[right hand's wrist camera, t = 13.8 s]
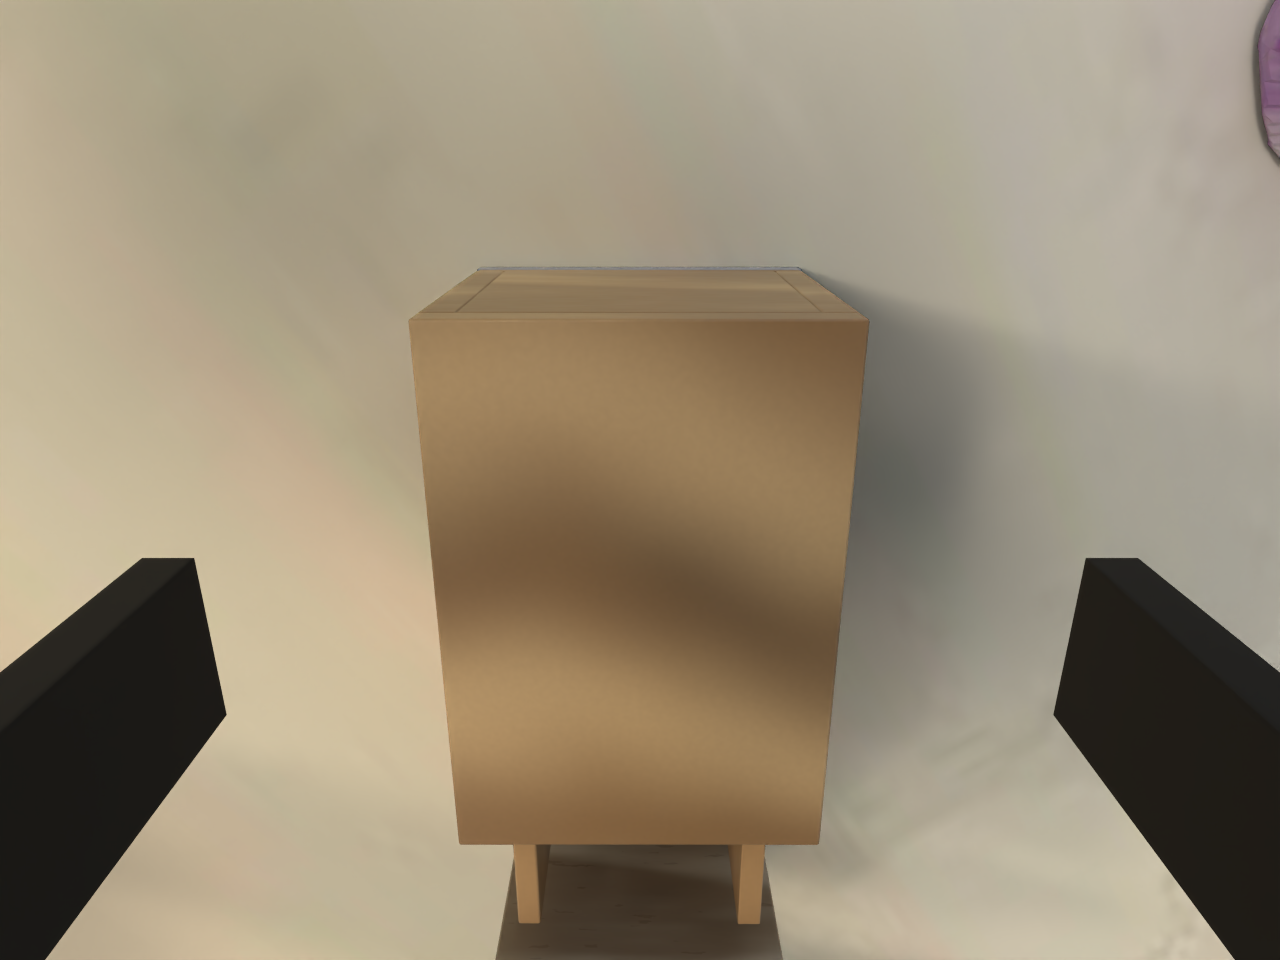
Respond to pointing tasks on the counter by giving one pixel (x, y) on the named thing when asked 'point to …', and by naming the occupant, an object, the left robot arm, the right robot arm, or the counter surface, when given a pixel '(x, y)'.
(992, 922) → the counter surface
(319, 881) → the counter surface
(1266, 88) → the figurine
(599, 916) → the drawer
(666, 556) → the cabinet
